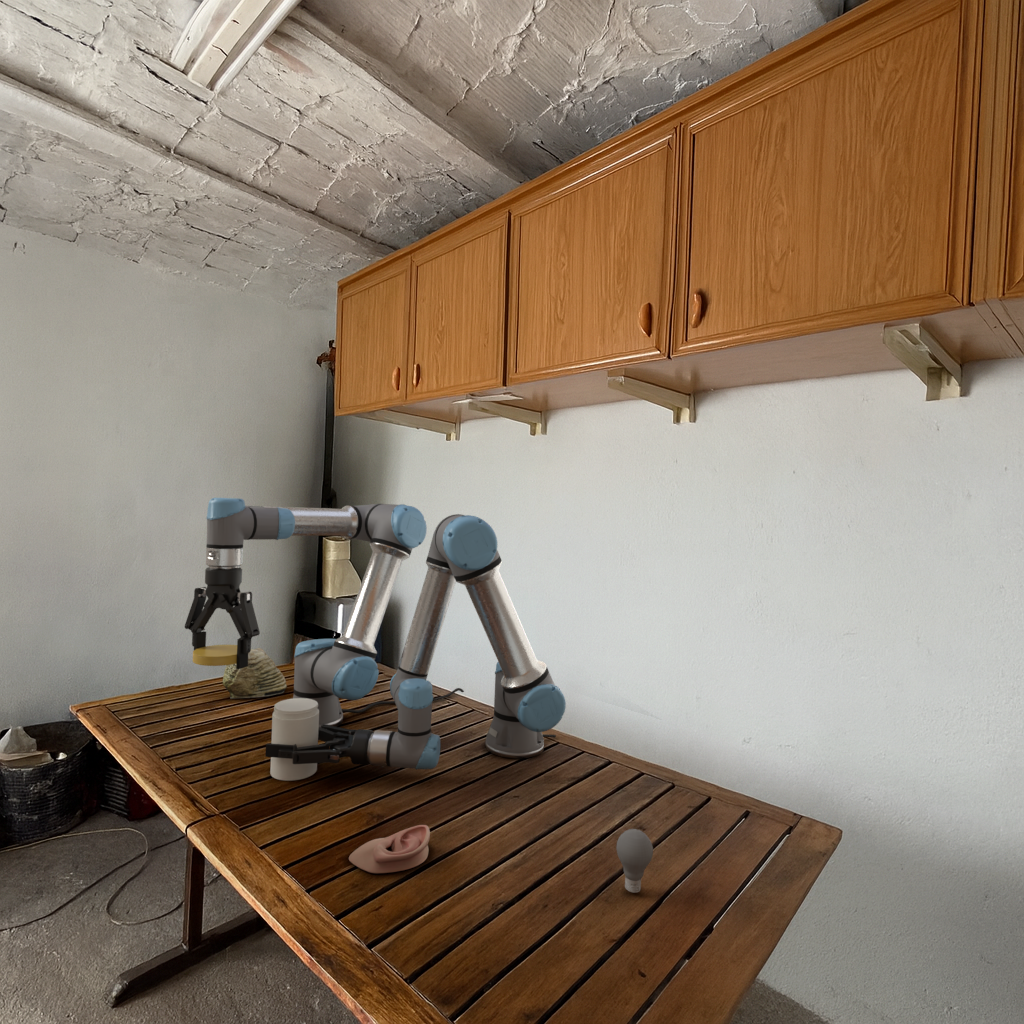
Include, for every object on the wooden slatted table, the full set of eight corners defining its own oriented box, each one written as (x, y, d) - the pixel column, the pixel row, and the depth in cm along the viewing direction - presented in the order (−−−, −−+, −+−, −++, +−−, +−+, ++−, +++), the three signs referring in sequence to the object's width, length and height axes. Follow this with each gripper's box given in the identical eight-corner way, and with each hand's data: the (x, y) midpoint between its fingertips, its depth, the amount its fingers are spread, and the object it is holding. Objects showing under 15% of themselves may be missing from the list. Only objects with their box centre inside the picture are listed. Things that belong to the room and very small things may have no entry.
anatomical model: (341, 845, 108) (369, 813, 120) (340, 868, 108) (368, 833, 120) (414, 857, 106) (436, 823, 117) (413, 880, 106) (435, 844, 117)
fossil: (218, 695, 195) (220, 647, 195) (278, 685, 208) (279, 640, 207) (228, 703, 189) (230, 653, 188) (289, 692, 201) (290, 645, 201)
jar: (321, 761, 151) (323, 697, 151) (311, 780, 141) (313, 712, 141) (277, 761, 150) (280, 697, 150) (264, 780, 140) (266, 711, 140)
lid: (233, 650, 150) (233, 642, 149) (256, 660, 142) (257, 651, 142) (183, 658, 141) (184, 649, 141) (206, 668, 134) (206, 659, 134)
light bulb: (610, 879, 108) (613, 822, 108) (644, 879, 109) (647, 822, 109) (619, 902, 102) (622, 840, 102) (655, 901, 103) (658, 840, 103)
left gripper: (168, 564, 141) (165, 661, 142) (256, 572, 134) (252, 675, 135) (195, 561, 148) (191, 654, 149) (279, 569, 141) (275, 666, 142)
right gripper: (355, 786, 133) (252, 778, 134) (384, 744, 156) (296, 738, 157) (356, 750, 133) (254, 743, 134) (385, 714, 155) (297, 708, 157)
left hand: (220, 664), depth 142 cm, fingers closed on lid, 11 cm apart
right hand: (277, 740), depth 146 cm, fingers closed on jar, 10 cm apart
